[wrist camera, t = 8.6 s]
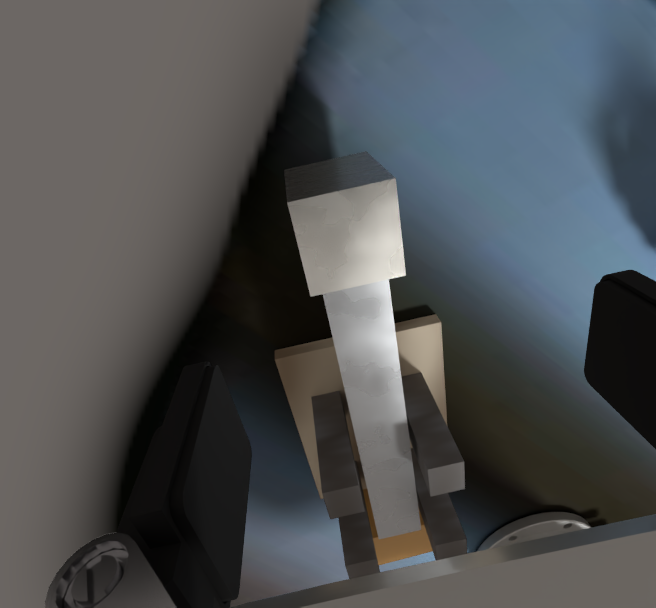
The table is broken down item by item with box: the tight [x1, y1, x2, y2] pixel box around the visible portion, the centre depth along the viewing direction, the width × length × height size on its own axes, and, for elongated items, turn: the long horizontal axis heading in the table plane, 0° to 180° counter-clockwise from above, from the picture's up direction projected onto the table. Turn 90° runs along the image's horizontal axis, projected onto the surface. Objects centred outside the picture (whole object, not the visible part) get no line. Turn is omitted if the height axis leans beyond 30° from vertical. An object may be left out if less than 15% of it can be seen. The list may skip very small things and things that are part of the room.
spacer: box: [363, 489, 433, 565], centre depth 35 cm, size 6×4×4 cm
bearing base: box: [275, 314, 467, 579], centre depth 28 cm, size 11×15×8 cm
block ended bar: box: [284, 151, 421, 539], centre depth 23 cm, size 4×24×6 cm, turn 11°
